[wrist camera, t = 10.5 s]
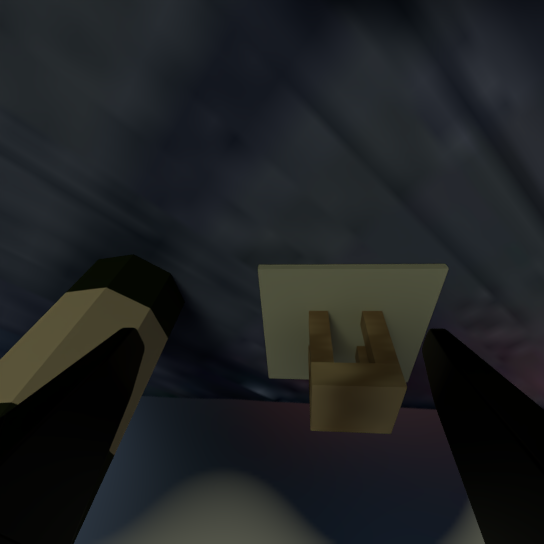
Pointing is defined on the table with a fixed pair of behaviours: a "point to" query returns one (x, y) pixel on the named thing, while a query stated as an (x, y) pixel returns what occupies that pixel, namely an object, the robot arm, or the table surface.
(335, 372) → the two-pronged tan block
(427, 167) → the table surface
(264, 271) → the mat
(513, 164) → the table surface
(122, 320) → the wine bottle
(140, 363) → the robot arm
